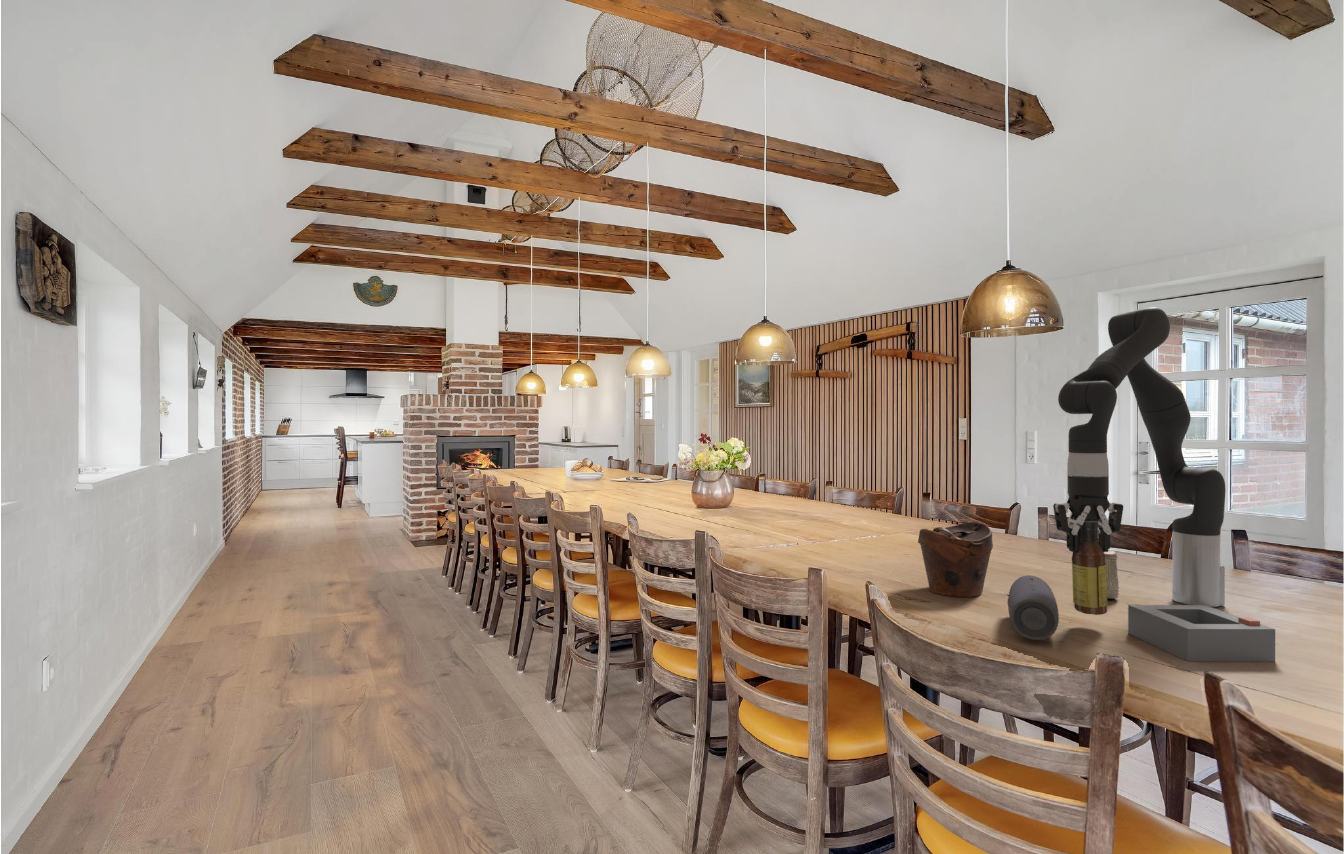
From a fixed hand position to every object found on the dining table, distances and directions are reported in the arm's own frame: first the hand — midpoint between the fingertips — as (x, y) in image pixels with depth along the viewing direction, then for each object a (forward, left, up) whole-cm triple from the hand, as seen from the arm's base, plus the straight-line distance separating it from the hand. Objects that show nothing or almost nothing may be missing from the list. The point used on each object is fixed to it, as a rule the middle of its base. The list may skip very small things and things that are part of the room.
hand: (1088, 551), depth 140 cm
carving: (-19, -24, -17) cm, 35 cm away
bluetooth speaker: (+13, +2, -17) cm, 21 cm away
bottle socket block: (-14, +12, -17) cm, 25 cm away
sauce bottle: (0, 0, -13) cm, 13 cm away
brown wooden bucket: (+16, -30, -17) cm, 38 cm away
